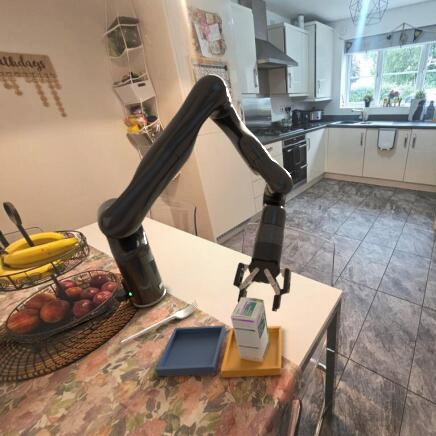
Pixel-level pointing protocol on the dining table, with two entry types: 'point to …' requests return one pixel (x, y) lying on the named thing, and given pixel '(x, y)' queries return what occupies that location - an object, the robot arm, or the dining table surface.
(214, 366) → the blue tray
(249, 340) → the syrup box
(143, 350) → the dining table surface
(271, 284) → the robot arm
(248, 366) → the honey tray
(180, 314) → the fork
